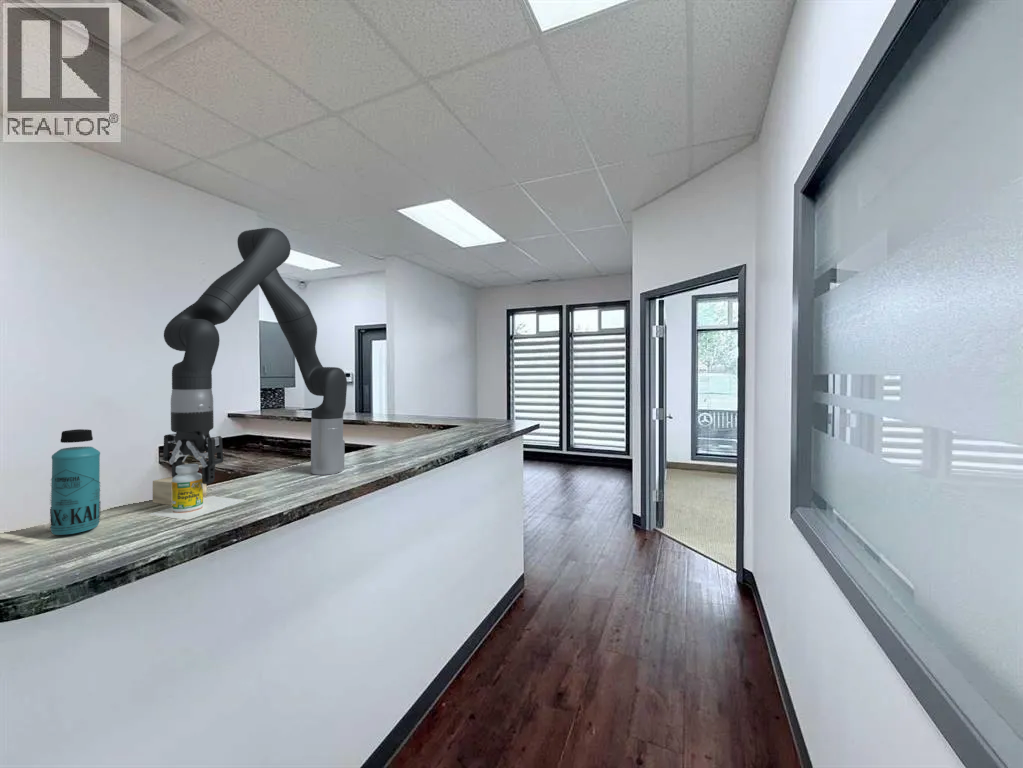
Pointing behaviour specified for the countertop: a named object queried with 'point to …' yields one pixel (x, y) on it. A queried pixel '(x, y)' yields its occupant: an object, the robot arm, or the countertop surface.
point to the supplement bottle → (187, 488)
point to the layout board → (208, 506)
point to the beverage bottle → (75, 485)
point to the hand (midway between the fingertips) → (193, 481)
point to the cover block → (166, 491)
